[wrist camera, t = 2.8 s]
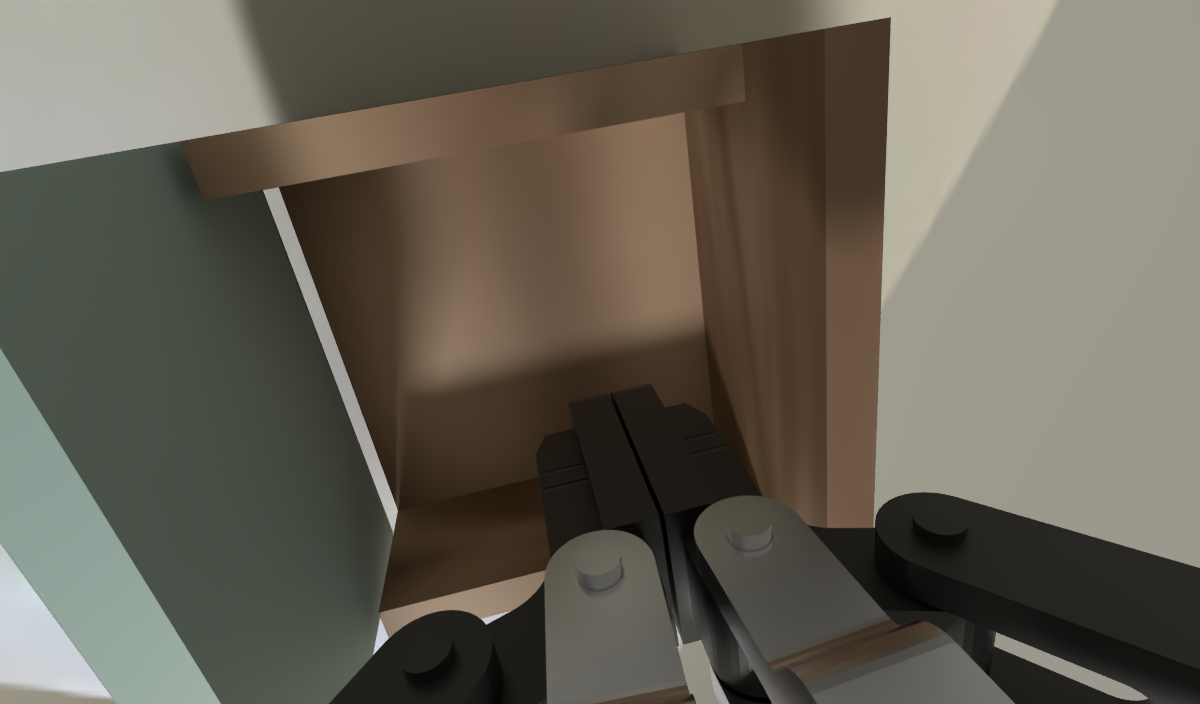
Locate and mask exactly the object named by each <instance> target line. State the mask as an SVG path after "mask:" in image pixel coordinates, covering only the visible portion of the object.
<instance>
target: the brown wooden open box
mask: <svg viewBox="0 0 1200 704" xmlns="http://www.w3.org/2000/svg"><path fill="white" fill-rule="evenodd" d="M890 24H891V17H890V18H884V19H879V20H873V21H867V22H861V23H856V24H850V25H844V26H838V27H833V28H827V29H821V30H816V31H810V32H804V33H799V34H793V35H787V36H782V37H776V38H770V39H765V40H759V41H753V42H748V43H742V44H736V45H730V46H725V47H719V48H713V49H707V50H702V51H696V52H690V53H685V54H679V55H673V56H667V57H662V58H656V59H650V60H644V61H639V62H633V63H627V64H621V65H616V66H610V67H604V68H598V69H593V70H587V71H581V72H575V73H570V74H564V75H558V76H552V77H547V78H541V79H535V80H529V81H524V82H518V83H512V84H507V85H501V86H495V87H489V88H484V89H478V90H472V91H466V92H461V93H455V94H449V95H443V96H438V97H432V98H426V99H420V100H415V101H409V102H403V103H397V104H392V105H386V106H380V107H374V108H369V109H363V110H357V111H352V112H346V113H340V114H334V115H329V116H323V117H317V118H311V119H306V120H300V121H294V122H288V123H283V124H277V125H271V126H265V127H260V128H254V129H248V130H242V131H237V132H231V133H225V134H219V135H214V136H208V137H202V138H197V139H191V140H185V141H179V142H180V144H181V146H182V149H183V151H184V154H185V156H186V158H187V161H188V163H189V165H190V168H191V170H192V173H193V175H194V177H195V180H196V182H197V184H198V187H199V189H200V191H201V194H202V196H203V199H204V201H206V200H211V199H217V198H222V197H227V196H233V195H238V194H244V193H249V192H255V191H260V190H265V189H271V188H276V187H279V189H280V192H281V195H282V197H283V200H284V203H285V205H286V208H287V211H288V214H289V216H290V219H291V222H292V224H293V227H294V230H295V233H296V235H297V238H298V241H299V243H300V246H301V249H302V251H303V254H304V257H305V260H306V262H307V265H308V268H309V270H310V273H311V276H312V279H313V281H314V284H315V287H316V289H317V292H318V295H319V298H320V300H321V303H322V306H323V308H324V311H325V314H326V317H327V319H328V322H329V325H330V327H331V330H332V333H333V336H334V338H335V341H336V344H337V346H338V349H339V352H340V354H341V357H342V360H343V363H344V365H345V368H346V371H347V373H348V376H349V379H350V382H351V384H352V387H353V390H354V392H355V395H356V398H357V401H358V403H359V406H360V409H361V411H362V414H363V417H364V420H365V422H366V425H367V428H368V430H369V433H370V436H371V439H372V441H373V444H374V447H375V449H376V452H377V455H378V458H379V460H380V463H381V466H382V468H383V471H384V474H385V476H386V479H387V482H388V485H389V487H390V490H391V493H392V495H393V498H394V501H395V504H396V506H397V509H398V514H397V519H396V524H395V530H394V535H393V540H392V545H391V550H390V556H389V561H388V566H387V571H386V576H385V581H384V587H383V592H382V597H381V602H380V607H379V615H380V618H381V620H382V623H383V625H384V627H385V630H386V632H387V634H388V637H389V638H390V637H391V636H392V635H393V634H394V633H396V632H397V631H398V630H399V629H401V628H402V627H403V626H405V625H407V624H408V623H410V622H412V621H413V620H415V619H418V618H420V617H422V616H424V615H427V614H430V613H434V612H438V611H444V610H461V611H465V612H469V613H471V614H474V615H476V616H477V617H479V618H480V619H481V618H485V617H488V616H492V615H496V614H500V613H504V612H508V611H511V610H514V609H516V608H517V607H519V606H520V605H522V604H523V603H524V602H525V601H527V600H528V599H529V598H530V597H531V596H532V595H533V594H534V593H535V592H536V591H537V590H538V588H539V587H540V586H541V584H542V583H543V581H544V578H545V571H546V567H547V565H548V563H549V561H550V550H549V544H548V537H547V530H546V523H545V516H544V509H543V502H542V495H541V488H540V481H539V474H538V467H537V460H536V453H537V451H538V449H539V447H540V445H541V443H542V441H543V439H544V437H545V435H549V434H553V433H558V432H562V431H566V430H571V429H573V424H572V419H571V414H570V409H569V403H568V402H569V401H574V400H578V399H582V398H587V397H591V396H596V395H600V394H604V393H608V394H609V396H610V393H611V392H613V391H617V390H622V389H626V388H630V387H635V386H639V385H644V384H648V383H650V384H651V385H652V386H653V388H654V390H655V391H656V393H657V395H658V397H659V398H660V400H661V402H662V404H663V405H664V407H670V406H674V405H678V404H683V403H686V404H688V405H690V406H692V407H694V408H696V409H698V410H699V411H701V412H703V413H705V414H706V415H707V416H708V417H709V419H710V420H711V422H712V423H713V425H714V426H715V428H716V429H717V430H718V434H720V435H721V436H722V438H723V439H724V441H725V442H726V443H727V447H728V448H730V449H731V451H732V452H733V454H734V455H735V457H736V458H737V459H738V461H739V462H740V464H741V465H742V467H743V468H744V470H745V471H746V472H747V474H748V475H749V477H750V478H751V480H752V481H753V483H754V484H755V485H756V487H757V488H758V490H759V491H760V493H761V494H762V496H763V497H766V498H770V499H773V500H776V501H779V502H781V503H783V504H785V505H787V506H788V507H790V508H791V509H793V510H794V511H795V512H796V513H797V514H798V515H799V516H800V517H801V518H802V520H803V521H804V522H805V523H806V524H807V525H811V526H816V527H823V528H873V518H874V517H873V516H874V489H875V459H876V458H875V457H876V428H877V402H878V373H879V370H878V369H879V344H880V343H879V342H880V315H881V285H882V256H883V227H884V198H885V169H886V140H887V111H888V82H889V53H890ZM610 398H611V396H610Z"/></svg>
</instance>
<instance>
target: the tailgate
mask: <svg viewBox="0 0 1200 704" xmlns="http://www.w3.org/2000/svg"><path fill="white" fill-rule="evenodd" d="M392 540H393V531H392V528H391V526H390V523H389V521H388V518H387V515H386V513H385V510H384V507H383V505H382V502H381V500H380V497H379V494H378V492H377V489H376V486H375V484H374V481H373V479H372V476H371V473H370V471H369V468H368V465H367V463H366V460H365V457H364V455H363V452H362V450H361V447H360V444H359V442H358V439H357V436H356V434H355V431H354V429H353V426H352V423H351V421H350V418H349V415H348V413H347V410H346V408H345V405H344V402H343V400H342V397H341V394H340V392H339V389H338V386H337V384H336V381H335V379H334V376H333V373H332V371H331V368H330V365H329V363H328V360H327V358H326V355H325V352H324V350H323V347H322V344H321V342H320V339H319V337H318V334H317V331H316V329H315V326H314V323H313V321H312V318H311V315H310V313H309V310H308V308H307V305H306V302H305V300H304V297H303V294H302V292H301V289H300V287H299V284H298V281H297V279H296V276H295V273H294V271H293V268H292V266H291V263H290V260H289V258H288V255H287V252H286V250H285V247H284V244H283V242H282V239H281V237H280V234H279V231H278V229H277V226H276V223H275V221H274V218H273V216H272V213H271V210H270V208H269V205H268V202H267V200H266V197H265V194H264V192H263V190H260V191H255V192H249V193H244V194H238V195H233V196H227V197H222V198H217V199H211V200H206V201H204V199H203V196H202V194H201V191H200V189H199V187H198V184H197V182H196V180H195V177H194V175H193V173H192V170H191V168H190V165H189V163H188V161H187V158H186V156H185V154H184V151H183V149H182V146H181V144H180V142H174V143H168V144H162V145H156V146H151V147H145V148H139V149H133V150H127V151H122V152H116V153H110V154H104V155H98V156H93V157H87V158H81V159H75V160H69V161H63V162H58V163H52V164H46V165H40V166H34V167H29V168H23V169H17V170H11V171H5V172H0V544H1V545H2V547H3V548H4V549H5V551H6V552H7V553H8V555H9V556H10V558H11V559H12V560H13V562H14V563H15V564H16V566H17V567H18V569H19V570H20V571H21V573H22V574H23V575H24V577H25V578H26V580H27V581H28V582H29V584H30V585H31V586H32V588H33V589H34V591H35V592H36V593H37V595H38V596H39V597H40V599H41V600H42V602H43V603H44V604H45V606H46V607H47V608H48V610H49V611H50V613H51V614H52V615H53V617H54V618H55V619H56V621H57V622H58V624H59V625H60V626H61V628H62V629H63V630H64V632H65V633H66V635H67V636H68V637H69V639H70V640H71V642H72V643H73V644H74V646H75V647H76V648H77V650H78V651H79V653H80V654H81V655H82V657H83V658H84V659H85V661H86V662H87V664H88V665H89V666H90V668H91V669H92V670H93V672H94V673H95V675H96V676H97V677H98V679H99V680H100V681H101V683H102V684H103V686H104V687H105V688H106V690H107V691H108V692H109V694H110V695H111V697H112V698H113V699H114V701H115V702H116V703H117V704H329V703H330V702H331V701H332V700H333V699H334V697H335V696H336V695H337V694H338V693H339V692H340V691H341V690H342V689H343V688H344V687H345V686H346V684H347V683H348V682H349V681H350V680H351V679H352V678H353V677H354V676H355V675H356V674H357V672H358V671H359V670H360V669H361V668H362V667H363V666H364V665H365V664H366V663H367V662H368V660H369V659H370V658H371V657H372V656H373V651H374V646H375V641H376V635H377V630H378V625H379V620H380V615H379V607H380V602H381V597H382V592H383V587H384V581H385V576H386V571H387V566H388V561H389V556H390V550H391V545H392Z"/></svg>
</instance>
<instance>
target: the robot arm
mask: <svg viewBox="0 0 1200 704" xmlns="http://www.w3.org/2000/svg"><path fill="white" fill-rule="evenodd" d="M610 396H611V398H610ZM610 396H609V394H608V393H604V394H600V395H596V396H591V397H587V398H582V399H578V400H574V401H569V402H568V403H569V409H570V414H571V419H572V424H573V429H571V430H566V431H562V432H558V433H553V434H549V435H545V437H544V439H543V441H542V443H541V445H540V447H539V449H538V451H537V453H536V460H537V467H538V474H539V481H540V488H541V495H542V502H543V509H544V516H545V523H546V530H547V537H548V544H549V550H550V561H549V563H548V565H547V567H546V571H545V578H544V581H543V583H542V584H541V586H540V587H539V588H538V590H537V591H536V592H535V593H534V594H533V595H532V596H531V597H530V598H529V599H528V600H527V601H525V602H524V603H523V604H522V605H520V606H519V607H517V608H516V609H514V610H512V611H511V612H509V613H507V614H505V615H503V616H502V617H500V618H498V619H496V620H494V621H493V622H491V623H489V624H487V625H486V624H485V623H484V622H483V621H482V620H481V619H480V618H479V617H477V616H476V615H474V614H471V613H469V612H465V611H461V610H444V611H438V612H434V613H430V614H427V615H424V616H422V617H420V618H418V619H415V620H413V621H412V622H410V623H408V624H407V625H405V626H403V627H402V628H401V629H399V630H398V631H397V632H396V633H394V634H393V635H392V636H391V637H390V638H389V639H388V640H387V641H386V642H385V643H384V644H383V645H382V646H381V647H380V648H379V650H378V651H377V652H376V653H375V654H374V655H373V656H372V657H371V658H370V659H369V660H368V662H367V663H366V664H365V665H364V666H363V667H362V668H361V669H360V670H359V671H358V672H357V674H356V675H355V676H354V677H353V678H352V679H351V680H350V681H349V682H348V683H347V684H346V686H345V687H344V688H343V689H342V690H341V691H340V692H339V693H338V694H337V695H336V696H335V697H334V699H333V700H332V701H331V702H330V703H329V704H696V701H695V699H694V696H693V694H690V693H689V690H688V687H687V683H686V680H685V675H684V671H683V667H682V663H681V659H680V656H679V652H678V648H677V646H679V644H678V637H677V630H676V626H677V628H678V631H679V634H680V637H681V640H682V642H683V644H687V643H691V642H695V641H698V640H702V643H703V645H704V648H705V650H706V653H707V655H708V658H709V661H710V669H711V677H712V684H713V689H714V692H715V694H716V697H717V699H718V701H719V703H720V704H1200V568H1198V567H1194V566H1191V565H1187V564H1184V563H1180V562H1177V561H1174V560H1170V559H1167V558H1163V557H1160V556H1157V555H1153V554H1150V553H1146V552H1143V551H1139V550H1136V549H1132V548H1129V547H1125V546H1122V545H1119V544H1115V543H1112V542H1108V541H1105V540H1102V539H1098V538H1095V537H1091V536H1088V535H1085V534H1081V533H1078V532H1074V531H1071V530H1067V529H1064V528H1061V527H1057V526H1054V525H1050V524H1047V523H1043V522H1040V521H1036V520H1033V519H1030V518H1026V517H1023V516H1019V515H1016V514H1012V513H1009V512H1005V511H1002V510H998V509H995V508H992V507H988V506H985V505H982V504H978V503H975V502H971V501H968V500H964V499H961V498H958V497H954V496H949V495H945V494H939V493H925V492H922V493H910V494H905V495H901V496H898V497H895V498H893V499H891V500H889V501H888V502H887V503H885V504H884V505H883V506H882V507H881V508H880V509H879V511H878V513H877V515H876V520H875V528H823V527H816V526H811V525H807V524H806V523H805V522H804V521H803V520H802V518H801V517H800V516H799V515H798V514H797V513H796V512H795V511H794V510H793V509H791V508H790V507H788V506H787V505H785V504H783V503H781V502H779V501H776V500H773V499H770V498H766V497H763V496H762V494H761V493H760V491H759V490H758V488H757V487H756V485H755V484H754V483H753V481H752V480H751V478H750V477H749V475H748V474H747V472H746V471H745V470H744V468H743V467H742V465H741V464H740V462H739V461H738V459H737V458H736V457H735V455H734V454H733V452H732V451H731V449H730V448H728V447H727V443H726V442H725V441H724V439H723V438H722V436H721V435H720V434H718V430H717V429H716V428H715V426H714V425H713V423H712V422H711V420H710V419H709V417H708V416H707V415H706V414H705V413H703V412H701V411H699V410H698V409H696V408H694V407H692V406H690V405H688V404H686V403H683V404H678V405H674V406H670V407H664V405H663V404H662V402H661V400H660V398H659V397H658V395H657V393H656V391H655V390H654V388H653V386H652V385H651V384H650V383H648V384H644V385H639V386H635V387H630V388H626V389H622V390H617V391H613V392H611V393H610ZM675 623H676V624H675ZM996 632H997V633H1000V634H1002V635H1005V636H1007V637H1010V638H1012V639H1014V640H1017V641H1019V642H1022V643H1025V644H1027V645H1029V646H1032V647H1034V648H1037V649H1039V650H1042V651H1044V652H1047V653H1049V654H1051V655H1054V656H1057V657H1059V658H1062V659H1064V660H1066V661H1069V662H1071V663H1074V664H1076V665H1079V666H1081V667H1084V668H1086V669H1088V670H1091V671H1094V672H1096V673H1098V674H1101V675H1103V676H1106V677H1108V678H1111V679H1113V680H1116V681H1118V682H1121V683H1123V684H1125V685H1127V686H1130V687H1132V688H1133V689H1135V690H1137V691H1139V692H1140V693H1142V694H1143V695H1145V696H1146V697H1148V698H1149V699H1146V700H1141V701H1130V700H1124V699H1120V698H1116V697H1114V696H1111V695H1108V694H1106V693H1104V692H1101V691H1099V690H1096V689H1094V688H1091V687H1089V686H1087V685H1085V684H1082V683H1080V682H1077V681H1075V680H1073V679H1070V678H1068V677H1065V676H1063V675H1061V674H1058V673H1056V672H1054V671H1051V670H1049V669H1046V668H1044V667H1042V666H1039V665H1037V664H1034V663H1032V662H1030V661H1027V660H1025V659H1023V658H1020V657H1018V656H1015V655H1013V654H1011V653H1008V652H1006V651H1003V650H1001V649H999V648H996V647H994V642H995V635H996Z"/></svg>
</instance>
